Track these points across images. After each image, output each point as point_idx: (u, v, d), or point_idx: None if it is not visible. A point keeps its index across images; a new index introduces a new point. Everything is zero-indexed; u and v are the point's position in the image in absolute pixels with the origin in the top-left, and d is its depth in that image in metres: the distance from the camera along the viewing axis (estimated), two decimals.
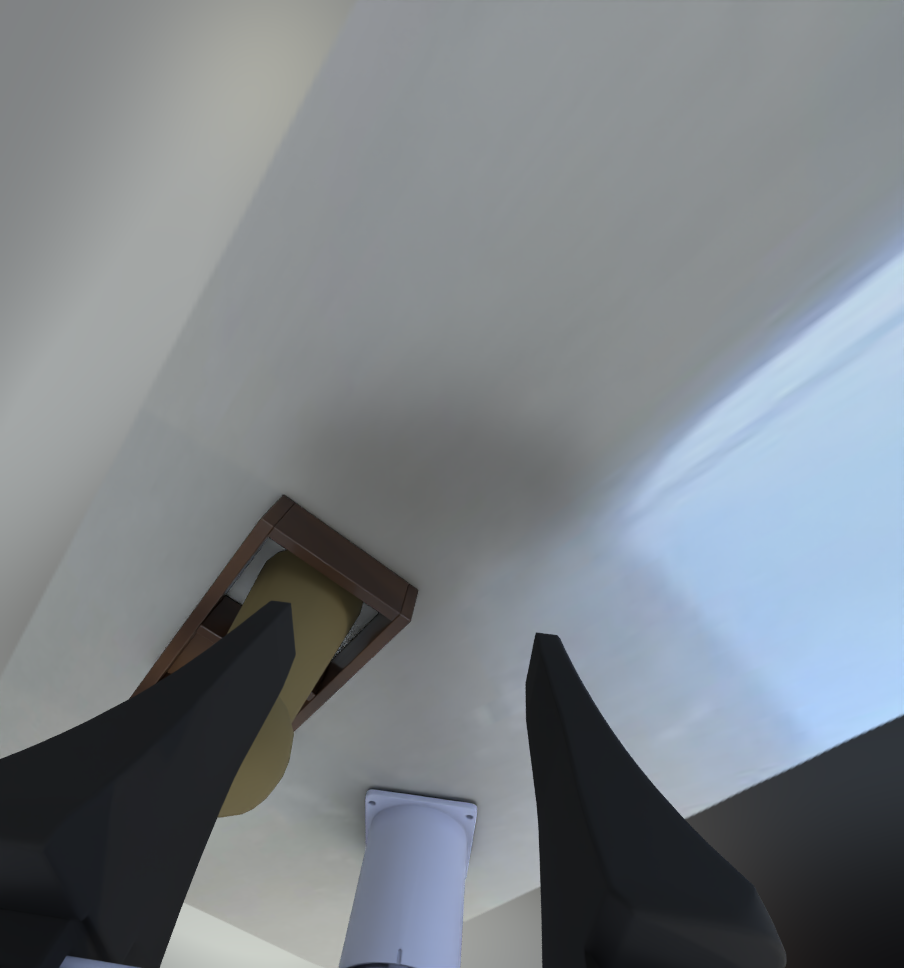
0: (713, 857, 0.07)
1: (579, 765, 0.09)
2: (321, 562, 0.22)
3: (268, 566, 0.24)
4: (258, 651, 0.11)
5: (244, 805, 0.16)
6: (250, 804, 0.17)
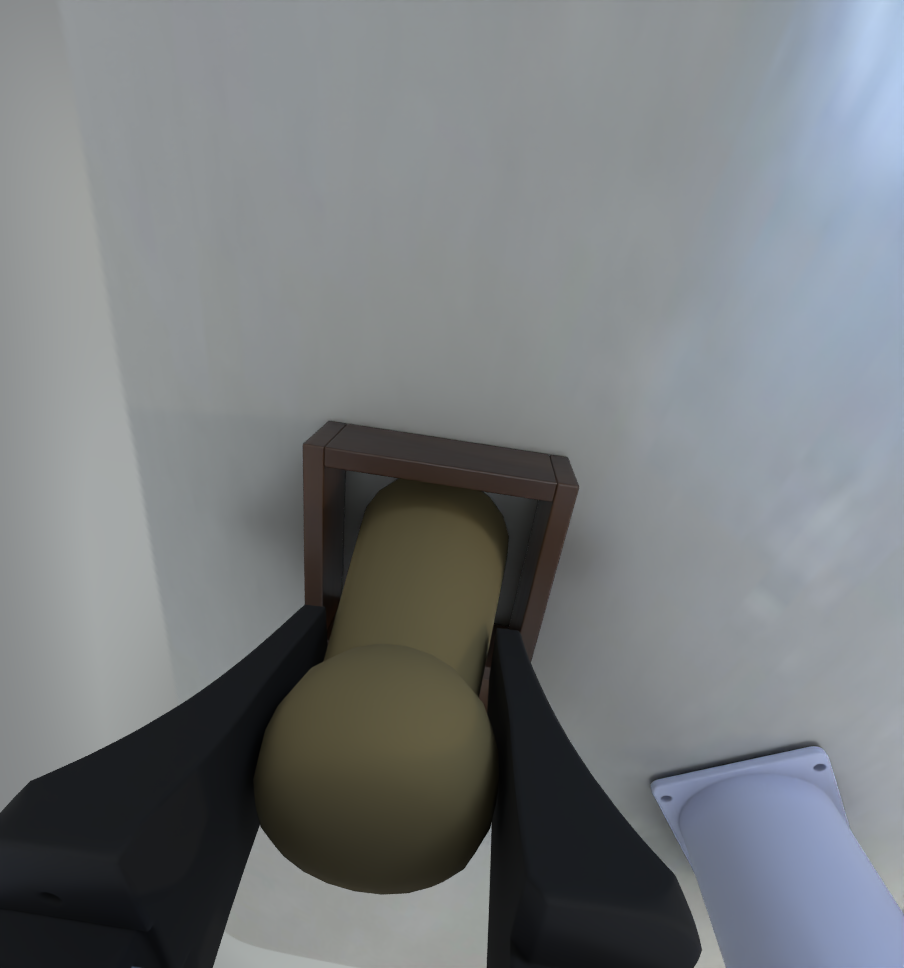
0: (638, 846, 0.07)
1: (520, 757, 0.09)
2: (409, 464, 0.14)
3: (361, 526, 0.17)
4: (297, 656, 0.11)
5: (454, 850, 0.09)
6: (463, 845, 0.09)
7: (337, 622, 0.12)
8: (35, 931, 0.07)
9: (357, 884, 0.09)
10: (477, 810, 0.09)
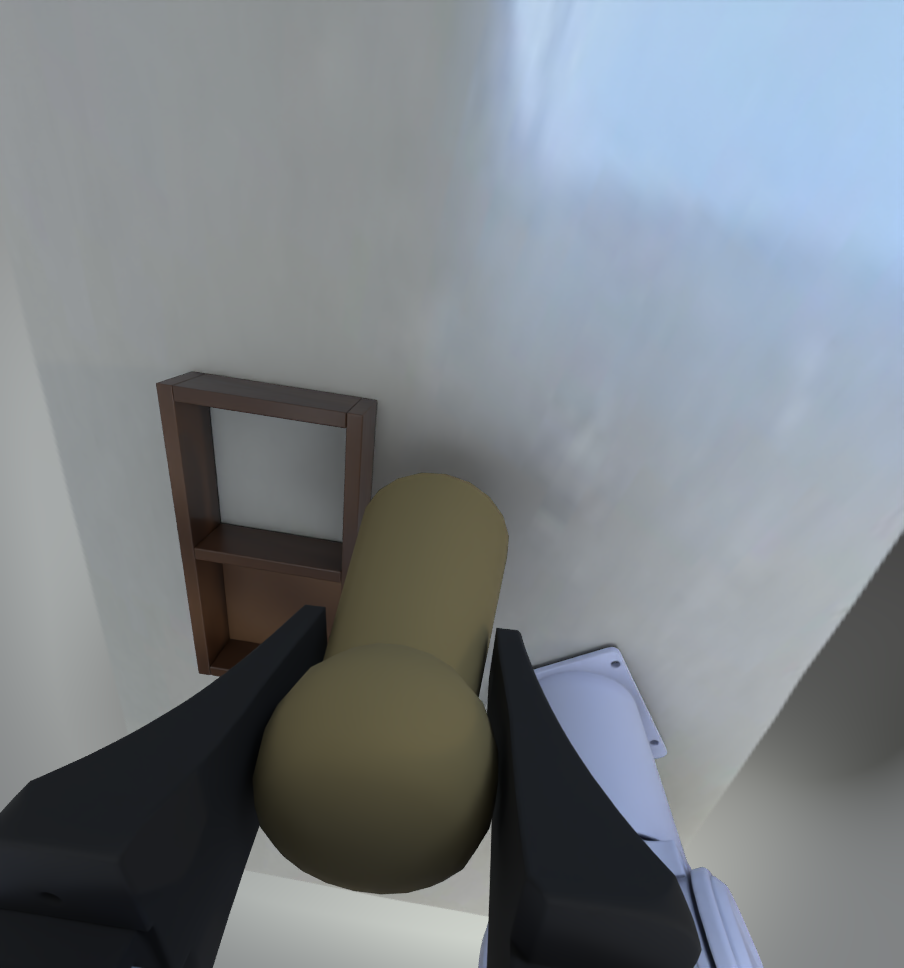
0: (638, 847, 0.07)
1: (520, 757, 0.09)
2: (236, 399, 0.19)
3: None
4: (297, 656, 0.11)
5: (453, 850, 0.09)
6: (463, 845, 0.09)
7: (336, 622, 0.12)
8: (35, 931, 0.07)
9: (356, 884, 0.09)
10: (476, 810, 0.09)
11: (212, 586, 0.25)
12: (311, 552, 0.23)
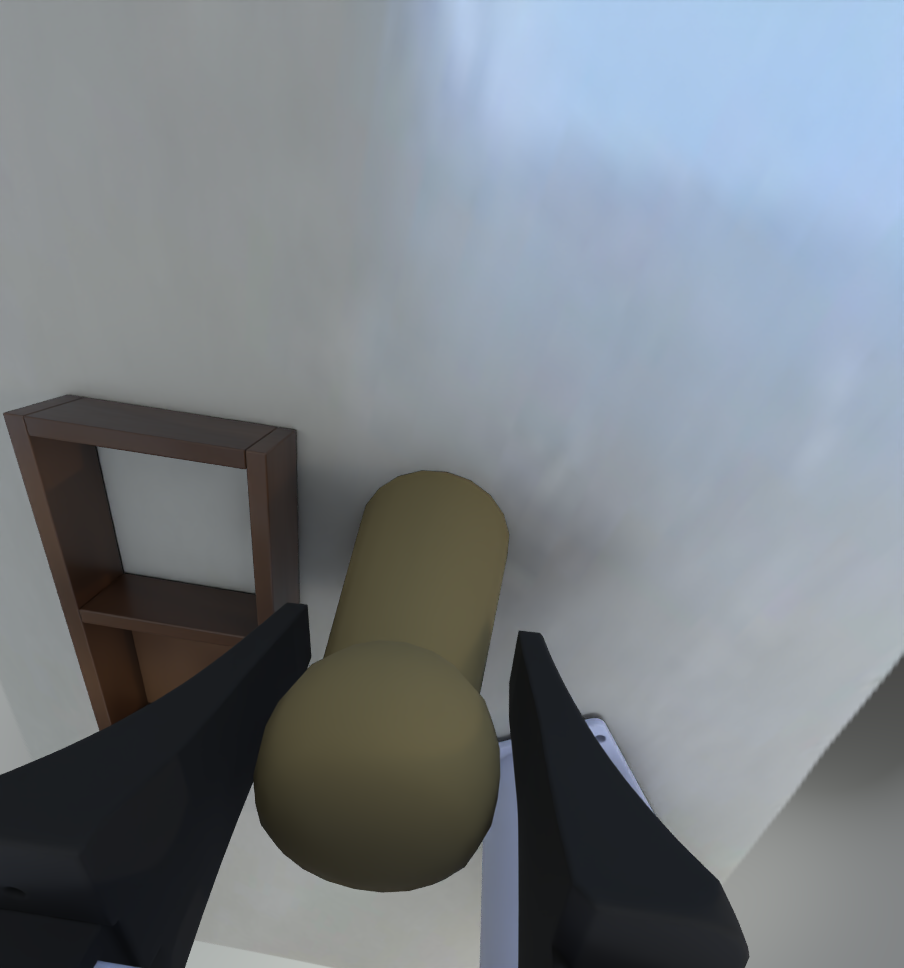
0: (680, 852, 0.07)
1: (553, 761, 0.09)
2: (105, 433, 0.15)
3: (360, 523, 0.17)
4: (277, 653, 0.11)
5: (455, 847, 0.08)
6: (465, 843, 0.09)
7: (337, 619, 0.12)
8: (0, 925, 0.07)
9: (358, 882, 0.09)
10: (479, 807, 0.09)
11: (114, 648, 0.21)
12: (226, 611, 0.19)
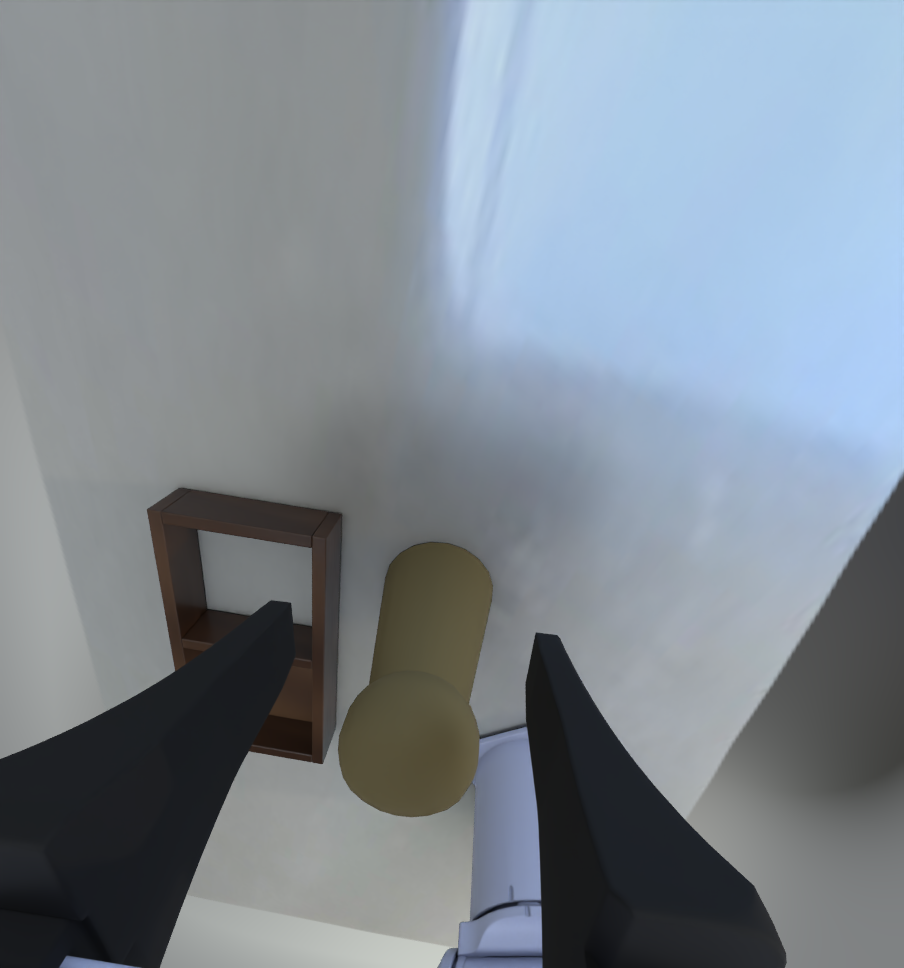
0: (713, 857, 0.07)
1: (579, 765, 0.09)
2: (216, 523, 0.22)
3: (387, 579, 0.24)
4: (258, 651, 0.11)
5: (453, 787, 0.15)
6: (458, 785, 0.16)
7: (378, 654, 0.19)
8: None
9: (398, 809, 0.16)
10: (466, 766, 0.16)
11: None
12: None
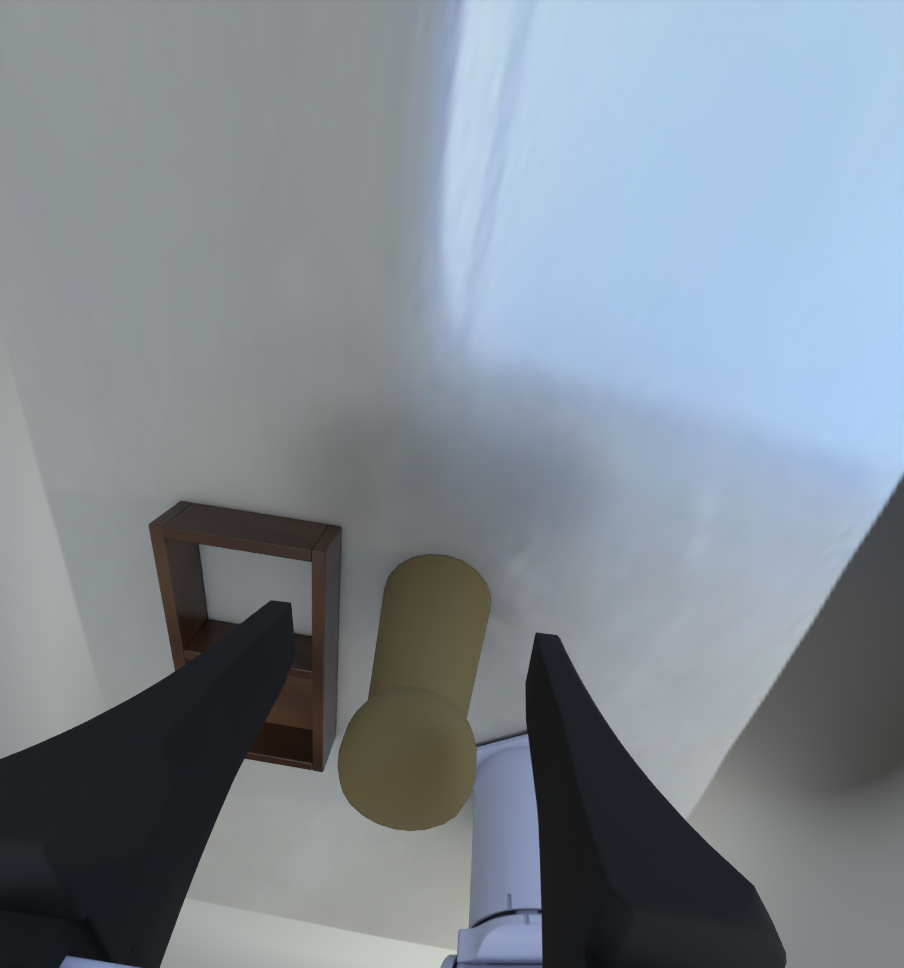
0: (713, 857, 0.07)
1: (579, 765, 0.09)
2: (217, 538, 0.22)
3: (386, 591, 0.25)
4: (258, 651, 0.11)
5: (450, 802, 0.16)
6: (456, 800, 0.16)
7: (377, 668, 0.20)
8: None
9: (397, 823, 0.16)
10: (463, 781, 0.16)
11: None
12: None
